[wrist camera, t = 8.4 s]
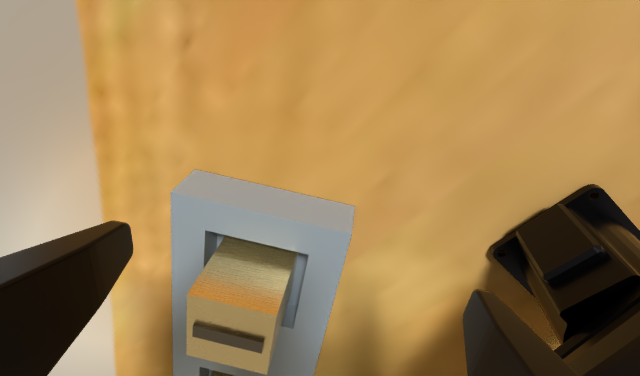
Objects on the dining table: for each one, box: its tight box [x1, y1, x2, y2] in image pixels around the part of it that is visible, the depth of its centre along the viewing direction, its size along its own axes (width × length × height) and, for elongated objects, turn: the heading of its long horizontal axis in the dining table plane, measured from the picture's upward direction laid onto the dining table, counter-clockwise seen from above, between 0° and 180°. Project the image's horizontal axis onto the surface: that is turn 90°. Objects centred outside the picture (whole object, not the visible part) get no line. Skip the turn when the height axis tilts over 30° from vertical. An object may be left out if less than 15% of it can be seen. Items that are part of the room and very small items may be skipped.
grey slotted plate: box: [171, 169, 355, 376], centre depth 26 cm, size 22×10×3 cm, turn 170°
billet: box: [187, 235, 299, 375], centre depth 21 cm, size 4×4×6 cm
